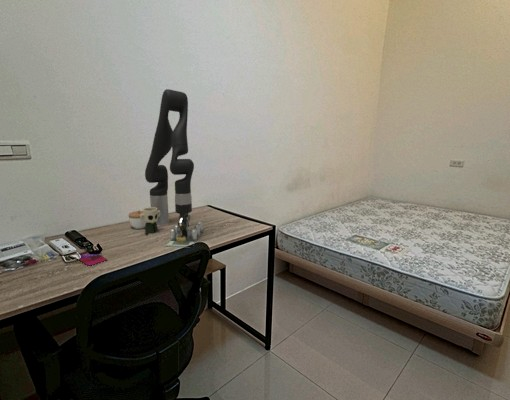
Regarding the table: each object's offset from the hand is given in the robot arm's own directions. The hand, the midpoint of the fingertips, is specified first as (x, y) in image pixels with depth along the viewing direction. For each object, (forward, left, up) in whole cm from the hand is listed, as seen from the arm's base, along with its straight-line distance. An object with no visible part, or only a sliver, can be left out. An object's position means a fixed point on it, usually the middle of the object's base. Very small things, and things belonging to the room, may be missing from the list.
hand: (184, 237), depth 140 cm
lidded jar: (-30, +18, -2) cm, 35 cm away
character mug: (-20, +9, -2) cm, 22 cm away
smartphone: (-33, -23, -3) cm, 40 cm away
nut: (-1, -4, -1) cm, 4 cm away
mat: (0, +2, -2) cm, 3 cm away
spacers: (0, +4, -2) cm, 5 cm away
